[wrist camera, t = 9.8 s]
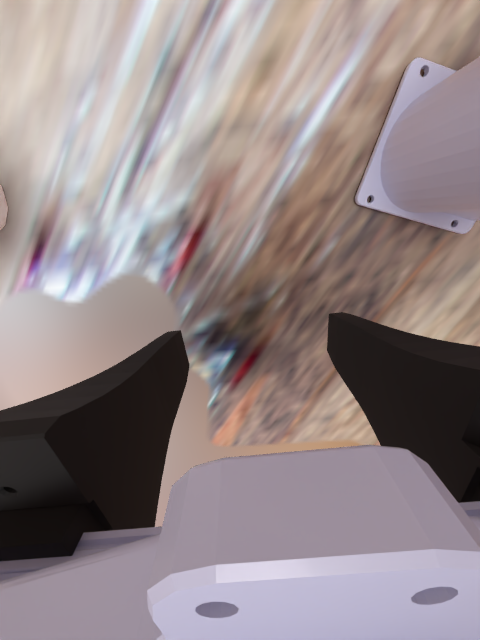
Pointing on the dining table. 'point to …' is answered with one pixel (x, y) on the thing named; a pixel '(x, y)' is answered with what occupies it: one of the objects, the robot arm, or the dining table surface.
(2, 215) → the foam cup
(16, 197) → the dining table surface
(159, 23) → the dining table surface
